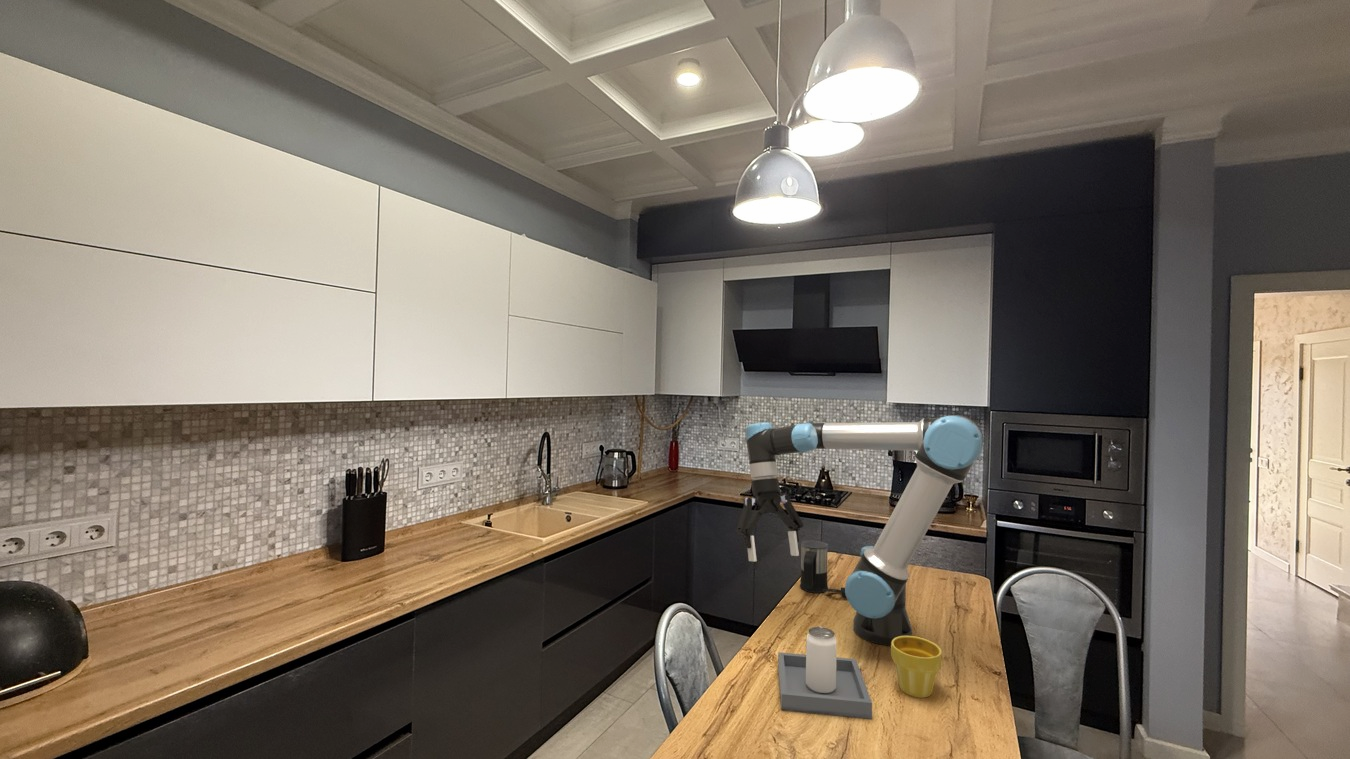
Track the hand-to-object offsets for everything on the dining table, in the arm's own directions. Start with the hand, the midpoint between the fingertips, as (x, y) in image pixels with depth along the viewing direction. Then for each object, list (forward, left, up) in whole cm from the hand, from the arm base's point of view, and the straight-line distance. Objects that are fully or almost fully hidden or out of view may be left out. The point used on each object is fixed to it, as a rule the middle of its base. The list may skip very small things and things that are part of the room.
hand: (774, 558), depth 147 cm
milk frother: (-18, -35, -21) cm, 45 cm away
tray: (-10, +25, -21) cm, 34 cm away
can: (-10, +25, -20) cm, 33 cm away
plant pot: (-31, +21, -21) cm, 43 cm away
